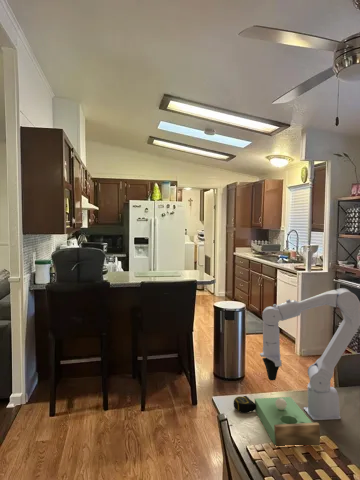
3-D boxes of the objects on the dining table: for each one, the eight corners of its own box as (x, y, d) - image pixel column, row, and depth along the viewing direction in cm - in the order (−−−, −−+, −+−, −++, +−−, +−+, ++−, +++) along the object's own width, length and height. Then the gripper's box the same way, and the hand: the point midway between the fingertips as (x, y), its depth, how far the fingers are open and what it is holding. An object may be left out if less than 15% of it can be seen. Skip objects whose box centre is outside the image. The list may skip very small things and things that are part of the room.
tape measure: (257, 413, 116) (256, 402, 116) (239, 416, 114) (238, 405, 114) (247, 404, 123) (247, 394, 123) (230, 407, 121) (230, 396, 121)
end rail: (318, 443, 98) (317, 422, 98) (320, 445, 97) (319, 424, 97) (274, 445, 97) (274, 424, 97) (276, 447, 96) (275, 426, 96)
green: (290, 408, 119) (290, 396, 119) (320, 445, 97) (319, 431, 97) (254, 409, 118) (254, 398, 118) (276, 447, 96) (275, 433, 96)
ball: (284, 406, 112) (284, 395, 112) (288, 412, 108) (288, 400, 108) (274, 407, 112) (273, 396, 112) (277, 412, 108) (277, 401, 108)
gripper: (254, 335, 126) (255, 372, 126) (266, 348, 111) (267, 388, 111) (272, 335, 126) (273, 371, 126) (287, 347, 112) (288, 388, 111)
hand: (272, 379), depth 118 cm, fingers closed
